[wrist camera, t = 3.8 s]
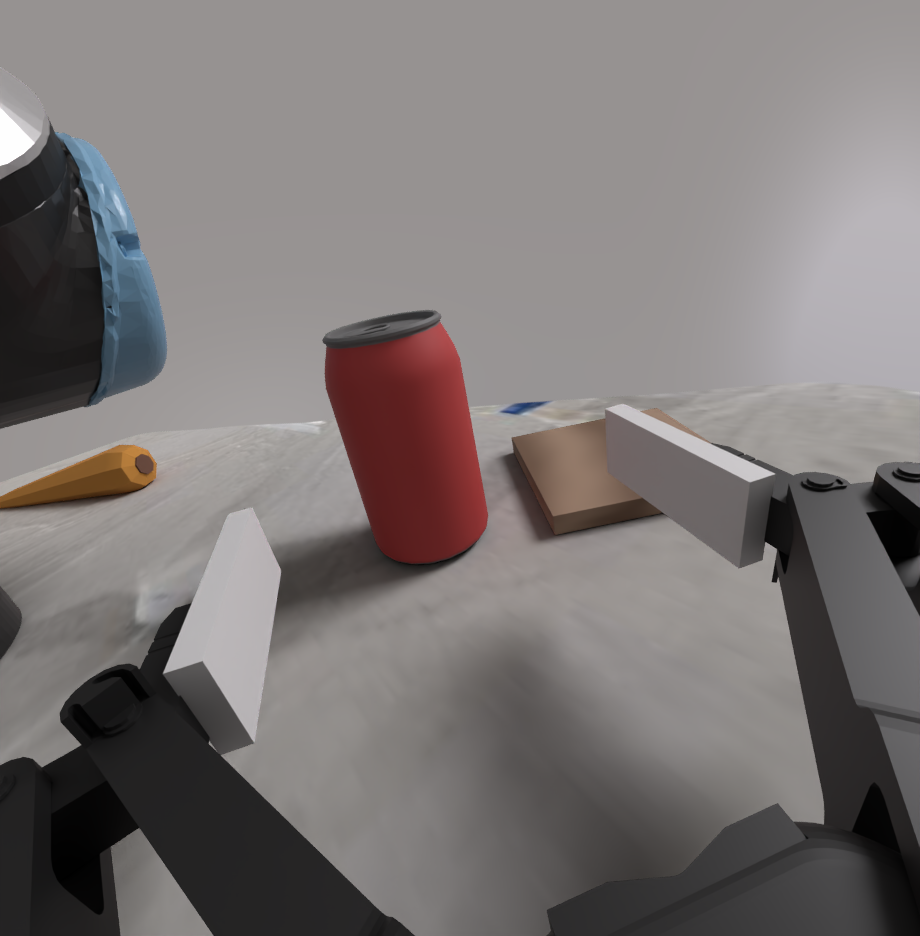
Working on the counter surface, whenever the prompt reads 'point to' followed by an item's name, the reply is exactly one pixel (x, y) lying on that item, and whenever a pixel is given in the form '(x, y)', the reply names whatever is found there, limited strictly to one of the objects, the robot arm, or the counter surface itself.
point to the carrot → (89, 478)
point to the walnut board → (580, 476)
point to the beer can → (408, 434)
